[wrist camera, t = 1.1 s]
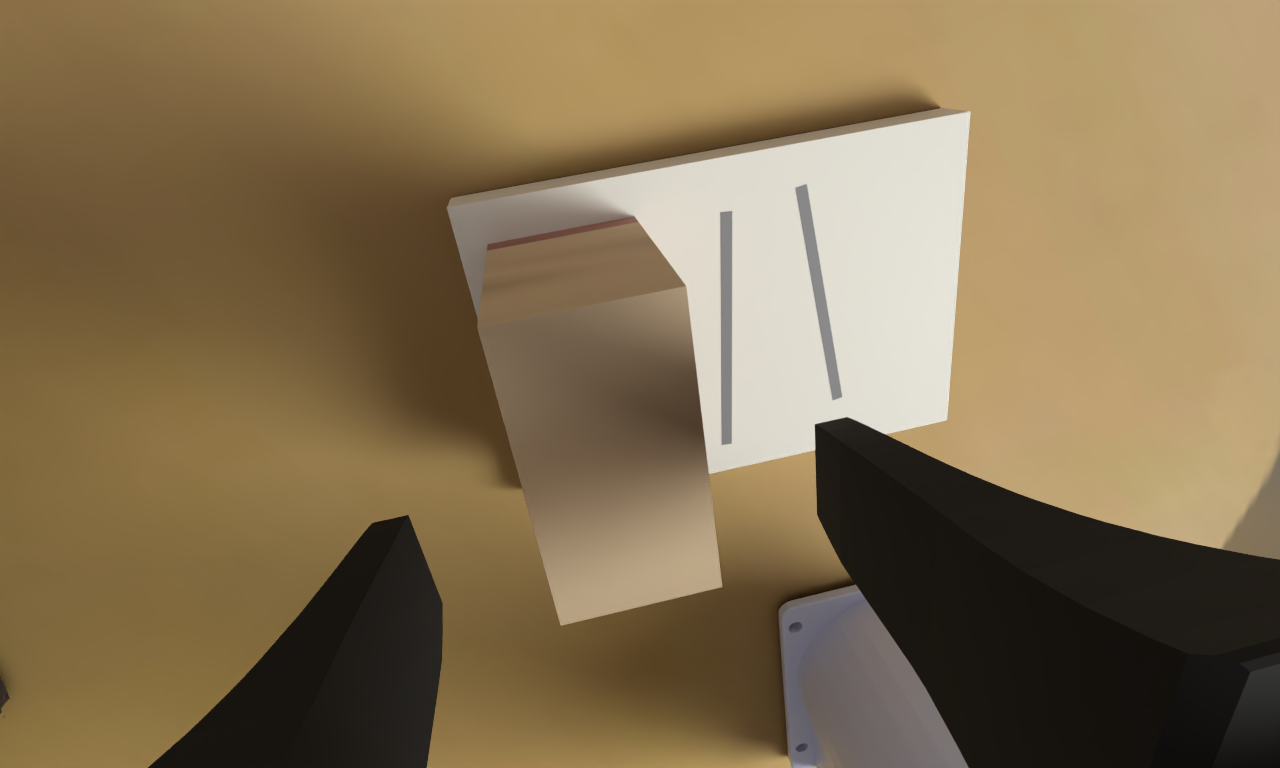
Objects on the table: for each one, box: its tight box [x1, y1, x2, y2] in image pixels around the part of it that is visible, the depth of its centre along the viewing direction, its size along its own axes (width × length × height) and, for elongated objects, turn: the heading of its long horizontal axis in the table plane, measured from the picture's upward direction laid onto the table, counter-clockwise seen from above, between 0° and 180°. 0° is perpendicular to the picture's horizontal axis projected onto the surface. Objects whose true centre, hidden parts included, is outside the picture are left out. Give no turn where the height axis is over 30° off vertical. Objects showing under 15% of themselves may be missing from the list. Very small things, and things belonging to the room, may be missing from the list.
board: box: [447, 108, 970, 474], centre depth 19 cm, size 9×13×1 cm
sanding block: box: [477, 216, 722, 626], centre depth 15 cm, size 7×4×6 cm, turn 8°
